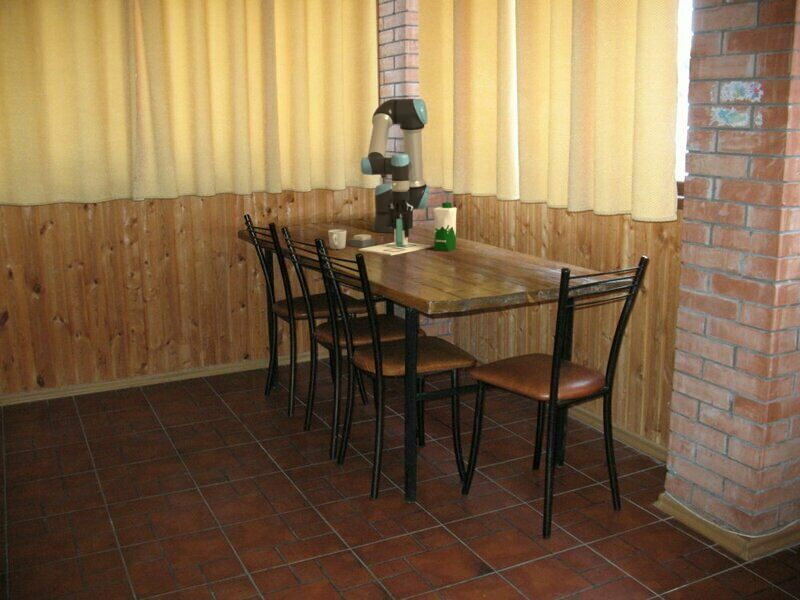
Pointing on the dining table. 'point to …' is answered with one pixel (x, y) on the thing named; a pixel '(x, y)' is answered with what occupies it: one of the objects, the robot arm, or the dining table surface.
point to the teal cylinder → (399, 231)
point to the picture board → (394, 248)
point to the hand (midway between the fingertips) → (401, 244)
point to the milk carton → (445, 227)
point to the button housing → (362, 242)
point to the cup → (337, 238)
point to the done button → (362, 237)
